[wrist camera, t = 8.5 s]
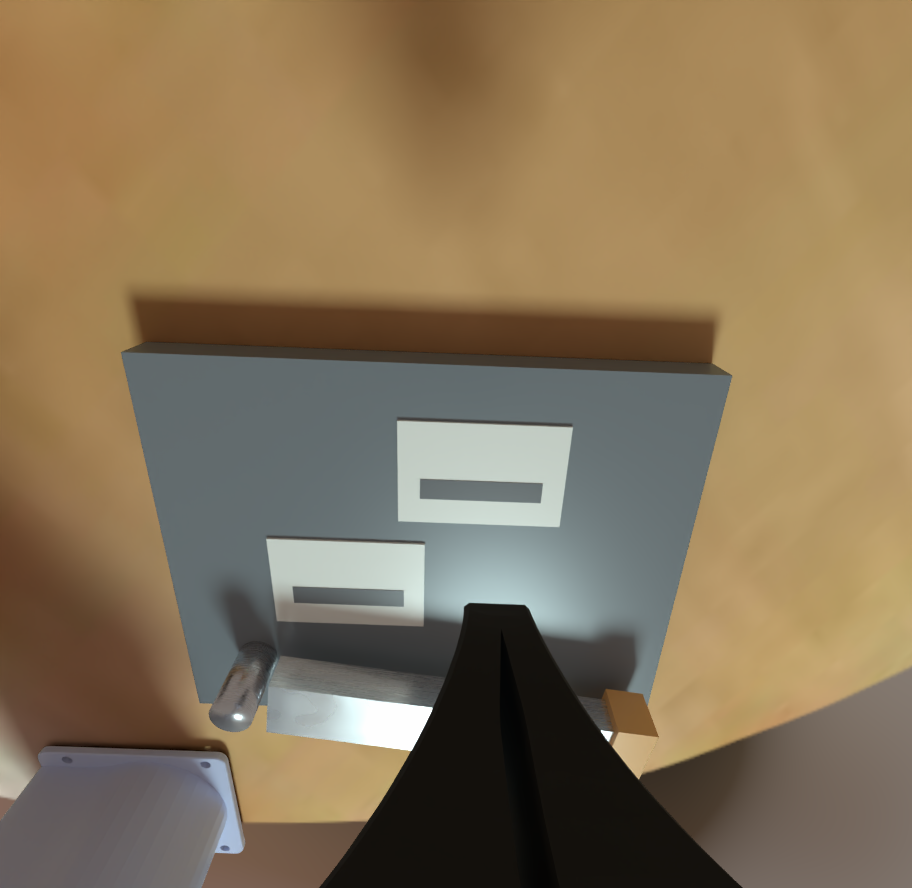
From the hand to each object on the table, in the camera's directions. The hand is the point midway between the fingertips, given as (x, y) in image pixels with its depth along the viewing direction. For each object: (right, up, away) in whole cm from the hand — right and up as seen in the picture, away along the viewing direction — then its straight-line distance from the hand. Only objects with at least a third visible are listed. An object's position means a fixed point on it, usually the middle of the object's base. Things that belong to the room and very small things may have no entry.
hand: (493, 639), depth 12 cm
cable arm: (-1, -6, +11) cm, 12 cm away
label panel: (-2, 0, +10) cm, 10 cm away
